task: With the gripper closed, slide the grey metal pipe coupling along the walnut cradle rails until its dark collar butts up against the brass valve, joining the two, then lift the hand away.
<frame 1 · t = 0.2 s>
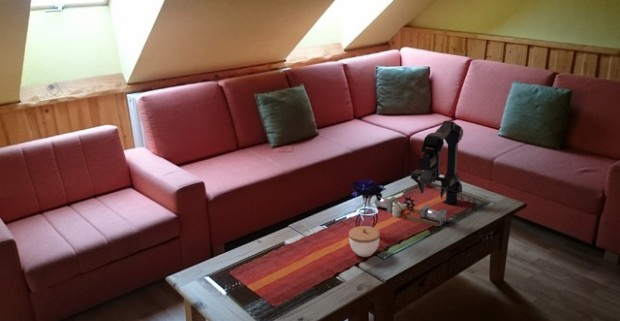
hand: (431, 195, 234), 14 cm above the table, fingers open, 9 cm apart
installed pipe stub: (384, 208, 256), on the table
lidded bowl: (364, 252, 216), on the table
cradle rails: (425, 218, 243), on the table
coupling: (432, 220, 241), on the table
valve: (401, 213, 251), on the table
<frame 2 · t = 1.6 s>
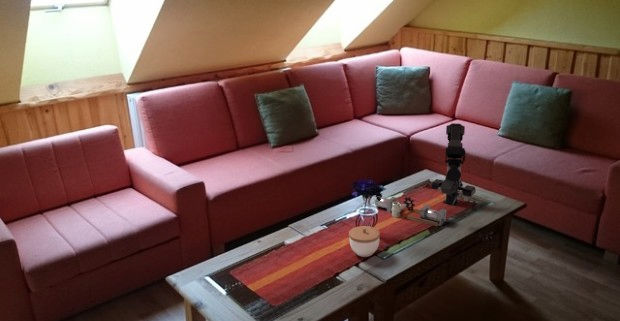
hand: (451, 205, 233), 10 cm above the table, fingers closed
nothing on the table moved.
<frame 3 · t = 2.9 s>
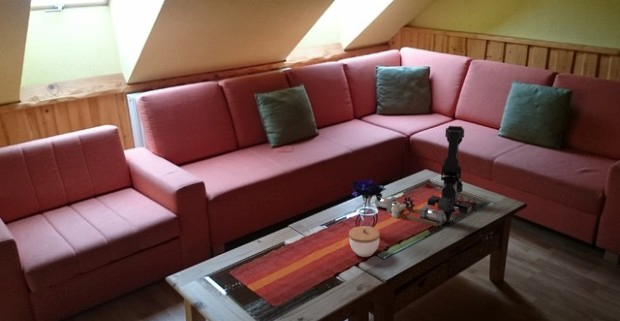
hand: (448, 221, 237), 2 cm above the table, fingers closed
coupling: (432, 220, 241), on the table, touching gripper
everything else where it was.
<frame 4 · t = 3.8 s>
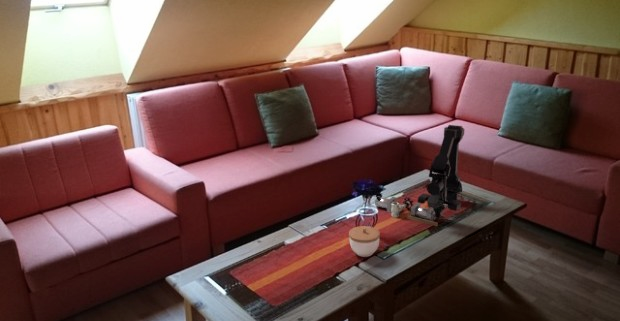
hand: (438, 218, 239), 2 cm above the table, fingers closed
coupling: (423, 218, 244), on the table, touching gripper
everything else where it was.
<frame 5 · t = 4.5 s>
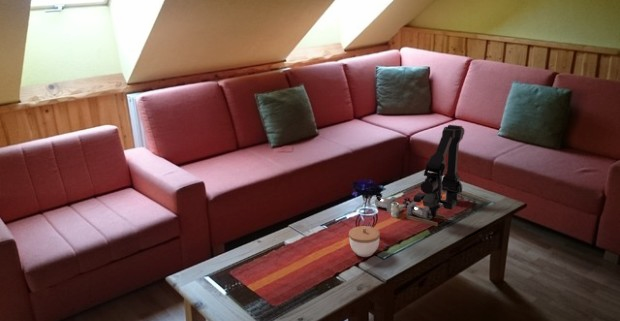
hand: (433, 217, 240), 2 cm above the table, fingers closed
coupling: (419, 217, 245), on the table, touching gripper
everything else where it was.
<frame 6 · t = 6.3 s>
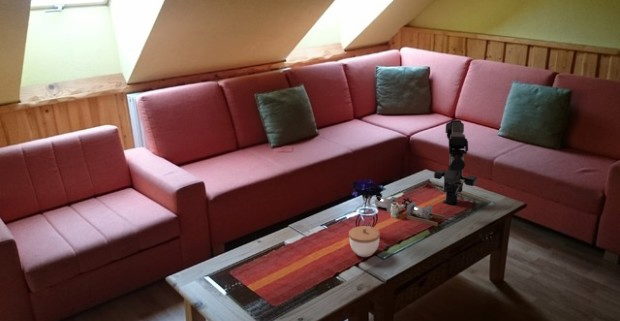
hand: (454, 194, 239), 12 cm above the table, fingers closed
coupling: (419, 217, 245), on the table
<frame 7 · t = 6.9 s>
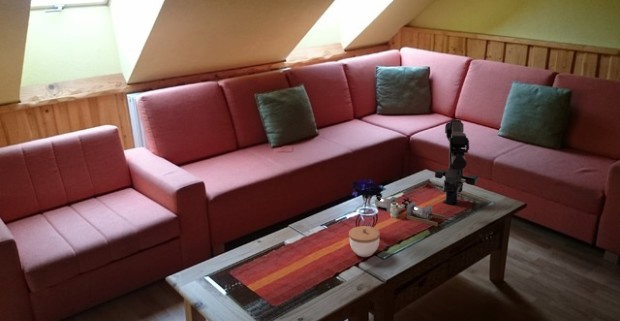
hand: (455, 194, 239), 12 cm above the table, fingers closed
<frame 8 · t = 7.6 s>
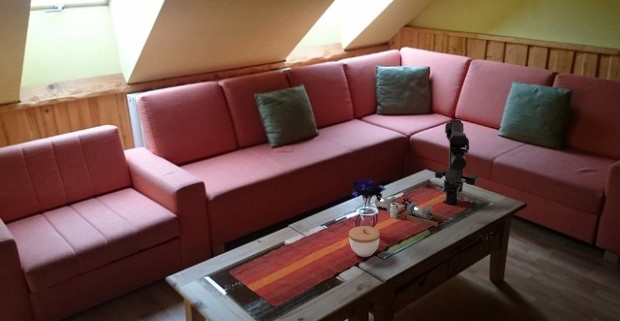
hand: (455, 194, 239), 12 cm above the table, fingers closed
at the end: coupling 1.6 cm from the target spot on the table beside the valve, on the table; coupling tilted 0°; valve moved 1.7 cm from its start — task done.
